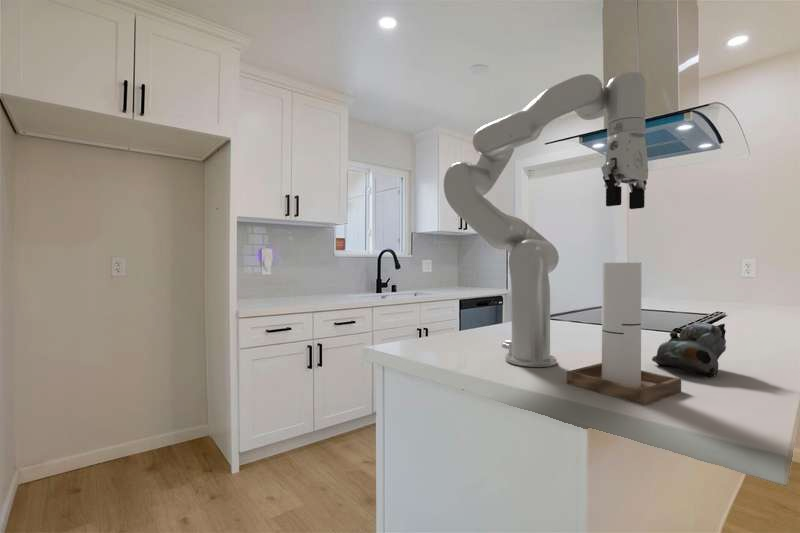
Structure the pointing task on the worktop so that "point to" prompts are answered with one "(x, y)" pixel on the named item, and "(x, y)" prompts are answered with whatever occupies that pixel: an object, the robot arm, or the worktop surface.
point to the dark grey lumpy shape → (694, 348)
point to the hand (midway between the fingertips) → (625, 207)
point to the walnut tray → (647, 393)
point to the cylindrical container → (621, 322)
